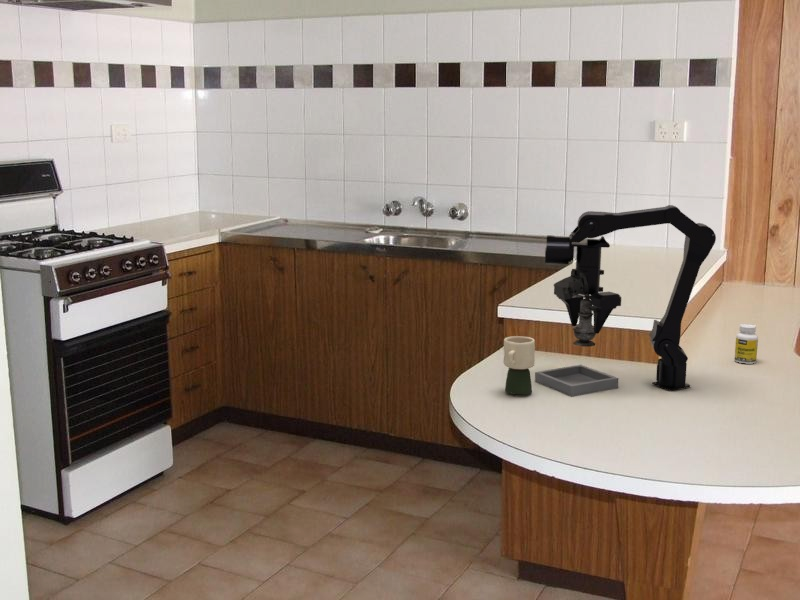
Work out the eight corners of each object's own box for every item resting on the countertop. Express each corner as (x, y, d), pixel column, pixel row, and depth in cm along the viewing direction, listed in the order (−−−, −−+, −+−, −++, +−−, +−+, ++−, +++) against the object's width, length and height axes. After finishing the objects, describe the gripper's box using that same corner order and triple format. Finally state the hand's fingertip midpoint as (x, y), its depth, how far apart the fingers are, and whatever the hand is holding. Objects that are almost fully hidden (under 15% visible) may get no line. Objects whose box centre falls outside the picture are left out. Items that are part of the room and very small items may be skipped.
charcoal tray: (618, 388, 221) (618, 378, 221) (571, 396, 215) (571, 386, 214) (580, 374, 233) (580, 364, 233) (534, 381, 227) (535, 372, 226)
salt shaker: (582, 347, 220) (585, 298, 218) (566, 342, 225) (569, 293, 223) (601, 345, 223) (604, 296, 220) (585, 340, 228) (588, 291, 225)
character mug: (513, 385, 224) (514, 333, 221) (541, 389, 220) (542, 336, 218) (494, 397, 215) (495, 342, 212) (523, 401, 211) (524, 346, 209)
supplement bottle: (733, 363, 242) (736, 326, 241) (734, 358, 247) (737, 322, 246) (756, 365, 240) (758, 328, 239) (756, 360, 245) (759, 324, 243)
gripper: (537, 261, 225) (534, 325, 228) (585, 273, 208) (582, 341, 211) (574, 259, 229) (571, 320, 233) (624, 270, 213) (620, 336, 216)
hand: (585, 329), depth 223 cm, fingers closed on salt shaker, 8 cm apart
